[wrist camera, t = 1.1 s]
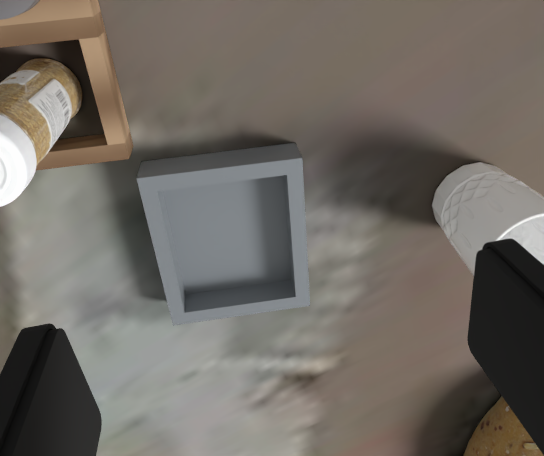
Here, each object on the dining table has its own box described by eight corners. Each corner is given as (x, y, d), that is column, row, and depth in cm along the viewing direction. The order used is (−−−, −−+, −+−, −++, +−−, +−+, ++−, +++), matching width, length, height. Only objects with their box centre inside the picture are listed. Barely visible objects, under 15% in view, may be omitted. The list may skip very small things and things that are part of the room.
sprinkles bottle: (18, 47, 32) (-83, 108, 21) (89, 69, 34) (30, 137, 22) (12, 112, 34) (-84, 199, 23) (79, 130, 36) (20, 221, 24)
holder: (-100, -105, 28) (-156, -113, 23) (68, -120, 28) (44, -131, 24) (5, 161, 36) (-22, 191, 32) (133, 146, 37) (124, 174, 32)
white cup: (424, 242, 45) (476, 314, 36) (425, 164, 41) (484, 225, 32) (508, 226, 45) (579, 293, 36) (516, 146, 41) (599, 202, 32)
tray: (141, 161, 37) (136, 178, 35) (295, 142, 38) (302, 158, 36) (174, 302, 45) (172, 325, 42) (303, 284, 45) (310, 305, 43)
